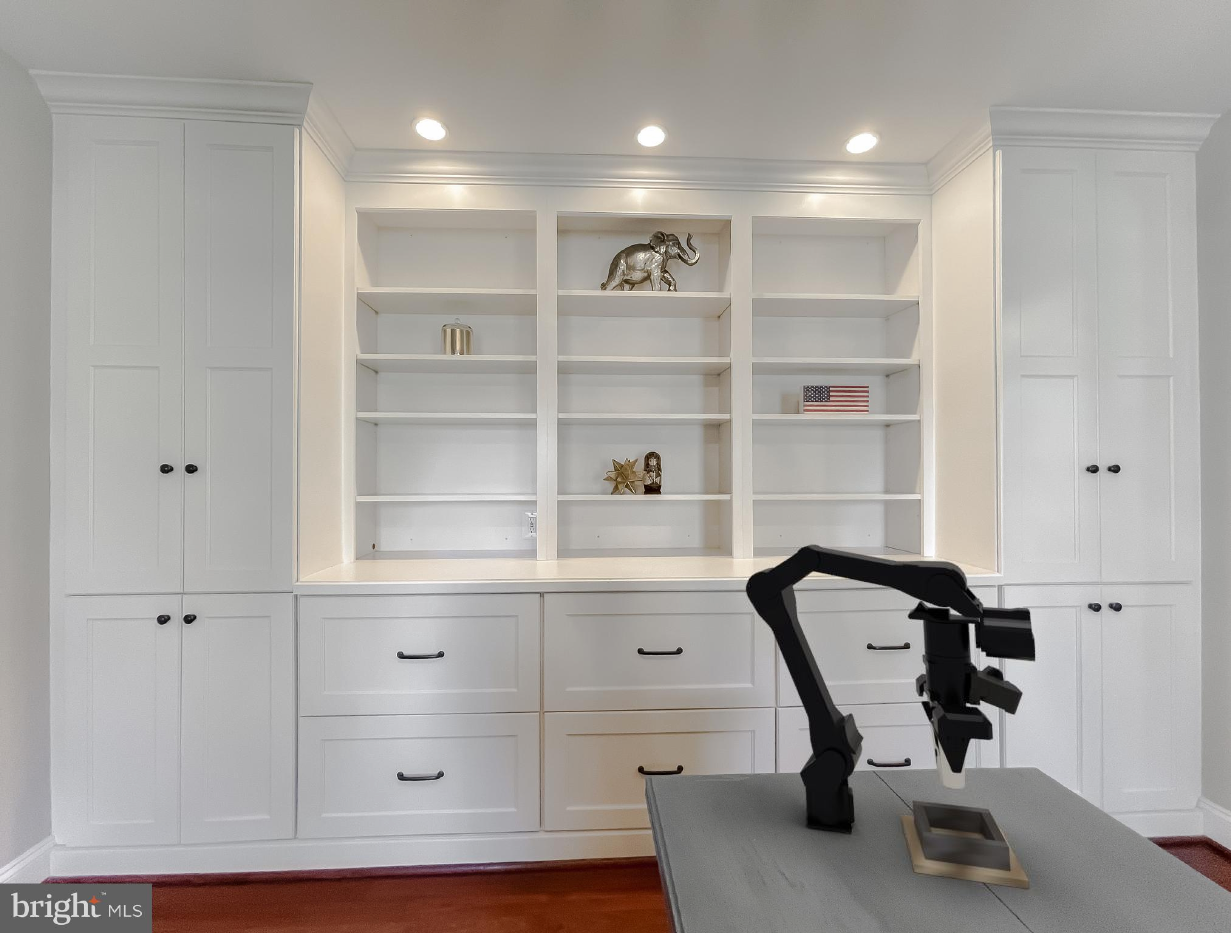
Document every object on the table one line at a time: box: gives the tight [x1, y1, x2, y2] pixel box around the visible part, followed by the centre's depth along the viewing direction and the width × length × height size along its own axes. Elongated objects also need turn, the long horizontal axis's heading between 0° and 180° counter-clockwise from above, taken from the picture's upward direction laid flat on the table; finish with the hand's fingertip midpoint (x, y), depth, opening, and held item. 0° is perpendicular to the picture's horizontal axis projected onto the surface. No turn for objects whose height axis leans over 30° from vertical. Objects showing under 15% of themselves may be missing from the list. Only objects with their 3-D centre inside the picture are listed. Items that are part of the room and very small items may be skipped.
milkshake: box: [929, 718, 966, 790], centre depth 85 cm, size 4×5×10 cm
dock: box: [900, 800, 1030, 890], centre depth 84 cm, size 13×13×4 cm
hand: (953, 766), depth 84 cm, fingers closed on milkshake, 4 cm apart
